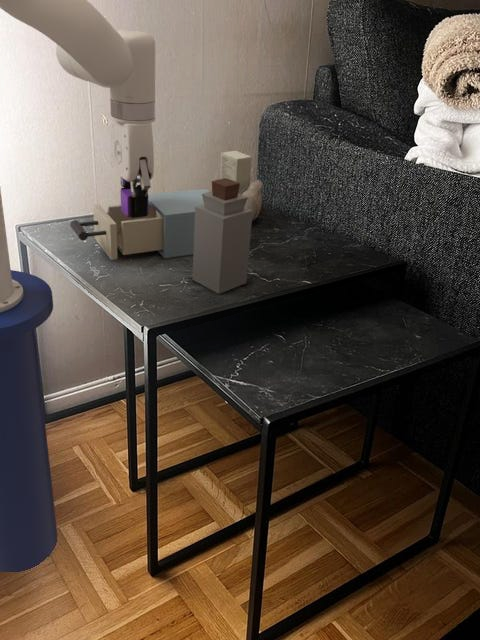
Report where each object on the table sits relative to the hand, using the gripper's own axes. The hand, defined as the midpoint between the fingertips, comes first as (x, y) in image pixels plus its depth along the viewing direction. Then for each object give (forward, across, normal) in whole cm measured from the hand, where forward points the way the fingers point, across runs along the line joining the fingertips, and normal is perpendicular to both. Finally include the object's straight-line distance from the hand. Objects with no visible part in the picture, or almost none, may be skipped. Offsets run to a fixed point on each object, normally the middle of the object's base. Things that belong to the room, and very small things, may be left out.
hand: (134, 211), depth 114 cm
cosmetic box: (+8, -16, +30) cm, 35 cm away
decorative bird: (+8, -6, +28) cm, 29 cm away
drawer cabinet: (+8, 0, +11) cm, 13 cm away
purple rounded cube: (0, 0, 0) cm, 0 cm away
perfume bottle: (+8, +18, +9) cm, 22 cm away
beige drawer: (+7, 0, -3) cm, 7 cm away
